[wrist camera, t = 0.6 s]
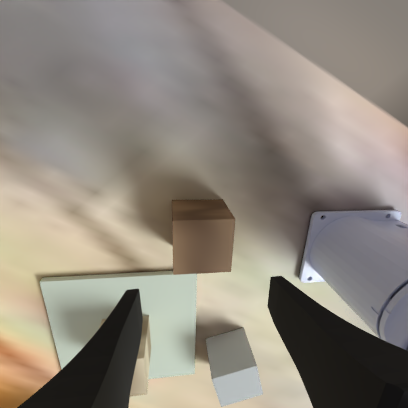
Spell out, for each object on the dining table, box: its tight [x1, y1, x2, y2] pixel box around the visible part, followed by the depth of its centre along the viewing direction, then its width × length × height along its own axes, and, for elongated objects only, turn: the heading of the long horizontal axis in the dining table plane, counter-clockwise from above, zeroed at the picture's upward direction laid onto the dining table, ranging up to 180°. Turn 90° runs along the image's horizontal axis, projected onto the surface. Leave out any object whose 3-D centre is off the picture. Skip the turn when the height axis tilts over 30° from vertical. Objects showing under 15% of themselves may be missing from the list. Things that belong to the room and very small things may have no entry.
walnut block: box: [172, 199, 235, 275], centre depth 19 cm, size 4×4×4 cm
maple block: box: [99, 315, 151, 396], centre depth 22 cm, size 4×4×4 cm
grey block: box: [206, 328, 263, 407], centre depth 25 cm, size 4×4×4 cm
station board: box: [40, 271, 197, 379], centre depth 24 cm, size 14×14×1 cm
